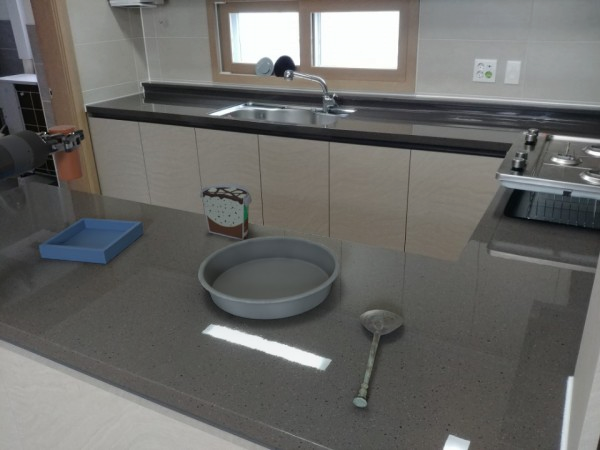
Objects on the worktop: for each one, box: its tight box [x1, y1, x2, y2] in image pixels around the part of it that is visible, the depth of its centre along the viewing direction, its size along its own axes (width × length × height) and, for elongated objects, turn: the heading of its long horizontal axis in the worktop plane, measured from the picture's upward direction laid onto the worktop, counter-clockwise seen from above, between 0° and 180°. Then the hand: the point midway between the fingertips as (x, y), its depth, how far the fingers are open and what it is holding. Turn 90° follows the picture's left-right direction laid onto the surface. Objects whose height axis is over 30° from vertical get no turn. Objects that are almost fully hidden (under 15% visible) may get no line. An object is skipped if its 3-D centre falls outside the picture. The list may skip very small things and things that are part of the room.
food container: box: [199, 183, 253, 241], centre depth 116 cm, size 12×6×10 cm, turn 59°
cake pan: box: [197, 235, 341, 320], centre depth 94 cm, size 25×25×4 cm
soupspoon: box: [352, 309, 404, 408], centre depth 76 cm, size 22×3×7 cm
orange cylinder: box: [47, 124, 85, 181], centre depth 116 cm, size 5×5×11 cm
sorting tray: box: [38, 217, 144, 265], centre depth 113 cm, size 15×15×3 cm
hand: (70, 133), depth 117 cm, fingers closed on orange cylinder, 5 cm apart
